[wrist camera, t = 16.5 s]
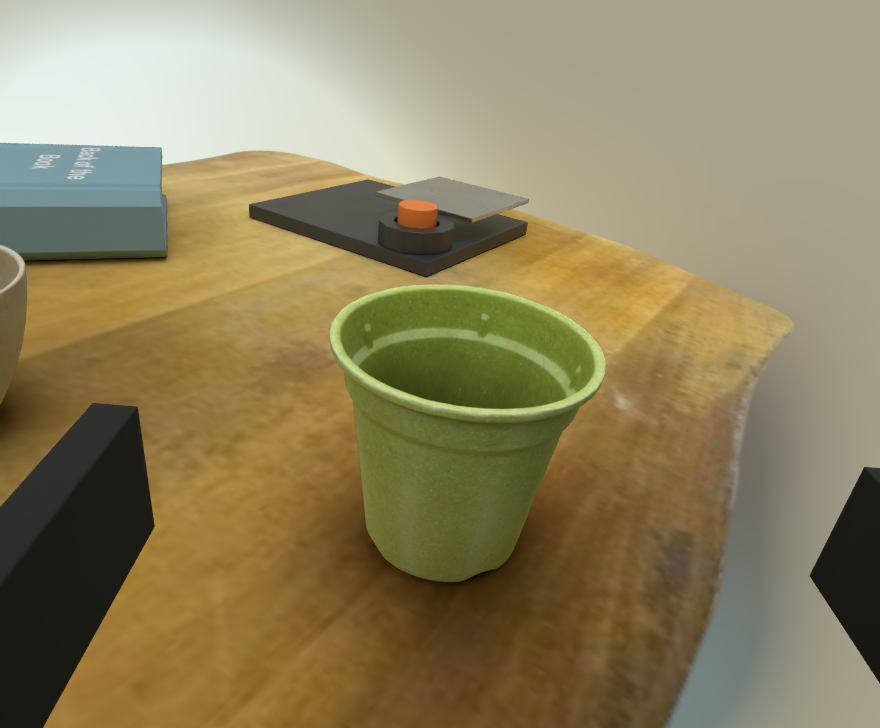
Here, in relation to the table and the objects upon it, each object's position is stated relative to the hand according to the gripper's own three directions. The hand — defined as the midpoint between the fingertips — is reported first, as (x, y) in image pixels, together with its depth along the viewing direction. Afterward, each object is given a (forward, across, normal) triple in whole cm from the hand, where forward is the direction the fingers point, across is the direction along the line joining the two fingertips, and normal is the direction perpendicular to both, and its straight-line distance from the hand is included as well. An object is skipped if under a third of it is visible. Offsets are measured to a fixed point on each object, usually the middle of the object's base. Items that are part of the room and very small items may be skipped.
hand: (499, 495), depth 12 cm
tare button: (+43, +2, +8) cm, 44 cm away
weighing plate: (+52, -1, +8) cm, 52 cm away
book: (+41, +34, +11) cm, 54 cm away
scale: (+51, +5, +10) cm, 53 cm away
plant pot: (+11, 0, +11) cm, 15 cm away
